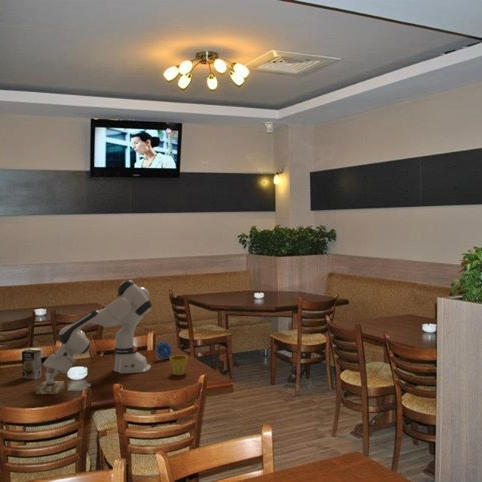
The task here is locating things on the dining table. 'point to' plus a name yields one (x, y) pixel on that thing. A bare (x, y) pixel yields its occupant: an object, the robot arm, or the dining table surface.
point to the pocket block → (50, 388)
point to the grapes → (163, 350)
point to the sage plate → (78, 387)
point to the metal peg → (49, 379)
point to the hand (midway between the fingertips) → (48, 376)
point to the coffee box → (31, 364)
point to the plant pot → (178, 364)
